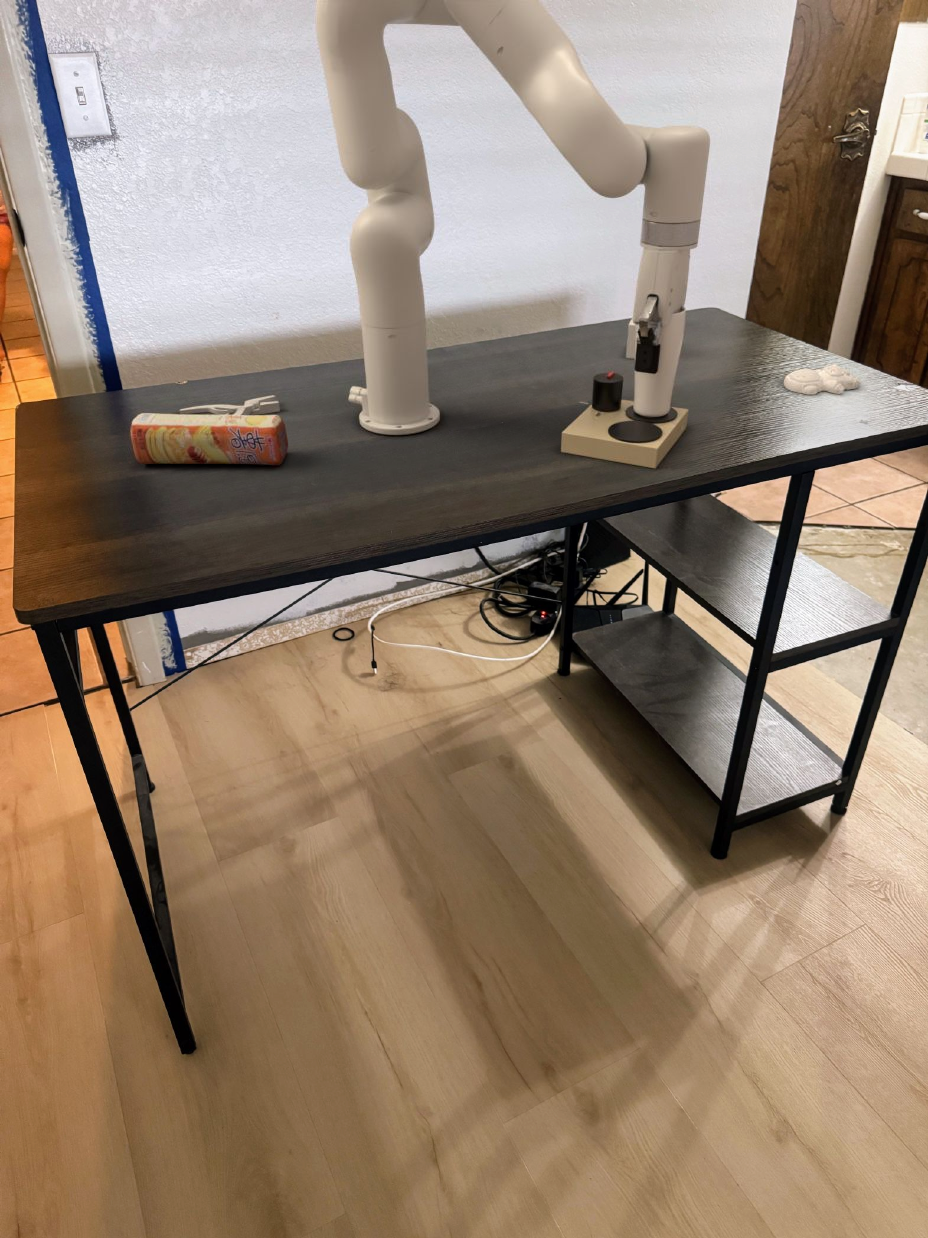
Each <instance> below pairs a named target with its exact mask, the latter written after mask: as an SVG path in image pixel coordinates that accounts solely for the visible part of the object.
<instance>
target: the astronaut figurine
mask: <svg viewBox="0 0 928 1238" xmlns="http://www.w3.org/2000/svg"><path fill="white" fill-rule="evenodd" d="M860 384H861V381H860V379H858V378H857V377H854V376H853V375H851V373H850V371H848V370H847V369H845V368H842V367H840V366H838V364H836V363H834V364H830V365H828V366H824V367H823V368H822V369H820V368H818V369H815V370H814V369H811V368H801V369H796V370H794V371H792V372H790V373H788V374H787V375H786V376H785V378H784V379H783V387H784V388H785V389H786V390H788V391H790V392H793V393H798V394H804V395H807V396H814V395H817V393H820V392H823V391H824V392H828V393H832V394H836V395H841V394H843V393H844V392H845V390H847V391H849V390H854V389H857V388H859V386H860Z"/></svg>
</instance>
